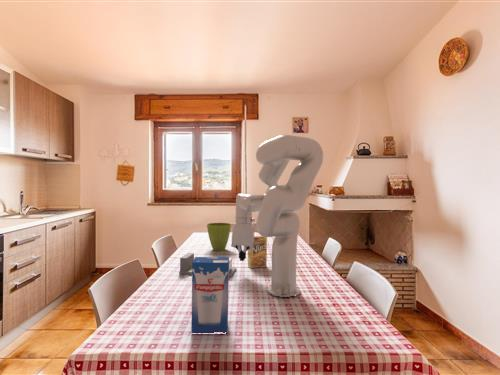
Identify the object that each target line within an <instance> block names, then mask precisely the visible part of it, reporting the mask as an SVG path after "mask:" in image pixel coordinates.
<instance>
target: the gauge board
mask: <svg viewBox="0 0 500 375" xmlns="http://www.w3.org/2000/svg"><path fill="white" fill-rule="evenodd" d="M194 259H195V253H194V252H193V253H192V252H187V253H186V254H184V255H183V256H181V257H180V258H179V266H180V267H179V271H178V273H179V275H185V276H192V262H193V260H194ZM236 271H237V267H234V266H232V269H231V271H230V272H229V279H230V278H232V277H233V275H235V274H234V273H236Z"/></svg>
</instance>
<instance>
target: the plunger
mask: <svg viewBox="0 0 500 375" xmlns="http://www.w3.org/2000/svg"><path fill="white" fill-rule="evenodd" d="M232 267H233V258H230V257H229V272H230V271H231V269H232Z"/></svg>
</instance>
